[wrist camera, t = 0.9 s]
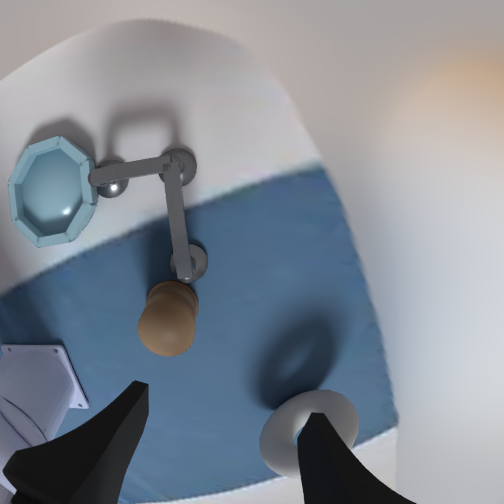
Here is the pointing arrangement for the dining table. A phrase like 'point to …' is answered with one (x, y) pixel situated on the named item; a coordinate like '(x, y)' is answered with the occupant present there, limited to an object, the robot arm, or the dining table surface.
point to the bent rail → (174, 176)
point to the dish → (52, 192)
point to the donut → (294, 418)
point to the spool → (169, 318)
